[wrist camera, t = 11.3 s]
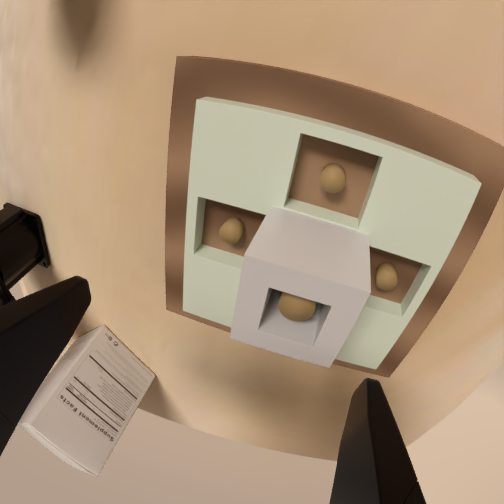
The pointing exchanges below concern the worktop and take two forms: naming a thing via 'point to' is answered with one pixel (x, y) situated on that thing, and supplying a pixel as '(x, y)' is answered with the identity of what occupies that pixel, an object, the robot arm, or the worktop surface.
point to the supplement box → (88, 400)
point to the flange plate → (312, 235)
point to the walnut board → (324, 178)
